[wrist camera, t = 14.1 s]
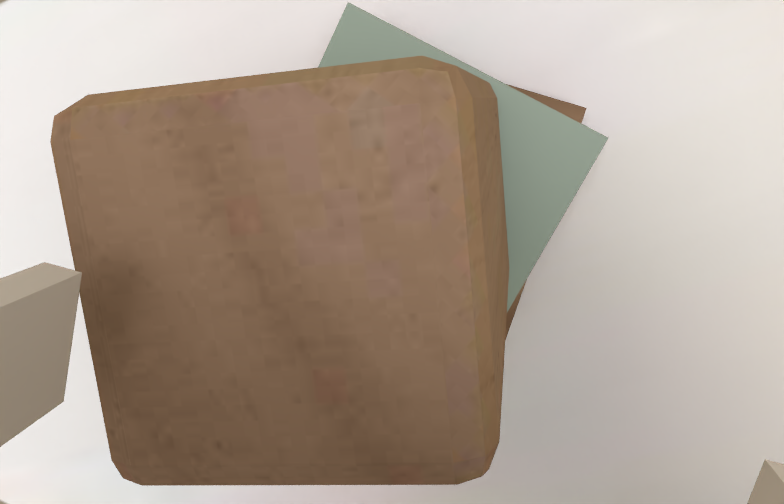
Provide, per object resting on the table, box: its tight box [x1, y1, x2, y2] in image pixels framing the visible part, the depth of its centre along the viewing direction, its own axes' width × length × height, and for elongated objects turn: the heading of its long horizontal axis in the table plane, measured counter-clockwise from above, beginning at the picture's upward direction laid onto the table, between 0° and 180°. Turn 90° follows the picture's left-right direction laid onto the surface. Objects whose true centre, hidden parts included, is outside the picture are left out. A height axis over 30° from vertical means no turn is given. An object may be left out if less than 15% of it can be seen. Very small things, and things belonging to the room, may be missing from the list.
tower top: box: [318, 2, 608, 312], centre depth 38 cm, size 14×14×5 cm
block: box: [51, 56, 509, 485], centre depth 26 cm, size 10×10×20 cm
